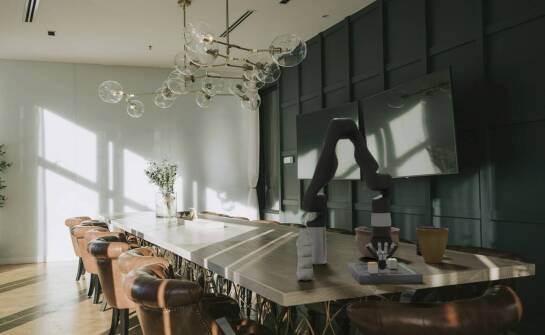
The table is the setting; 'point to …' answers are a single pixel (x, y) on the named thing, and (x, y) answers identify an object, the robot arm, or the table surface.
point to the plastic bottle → (304, 256)
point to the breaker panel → (385, 274)
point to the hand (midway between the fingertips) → (382, 269)
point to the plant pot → (432, 243)
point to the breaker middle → (392, 263)
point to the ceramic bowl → (365, 236)
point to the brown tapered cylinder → (417, 239)
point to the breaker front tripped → (372, 267)
